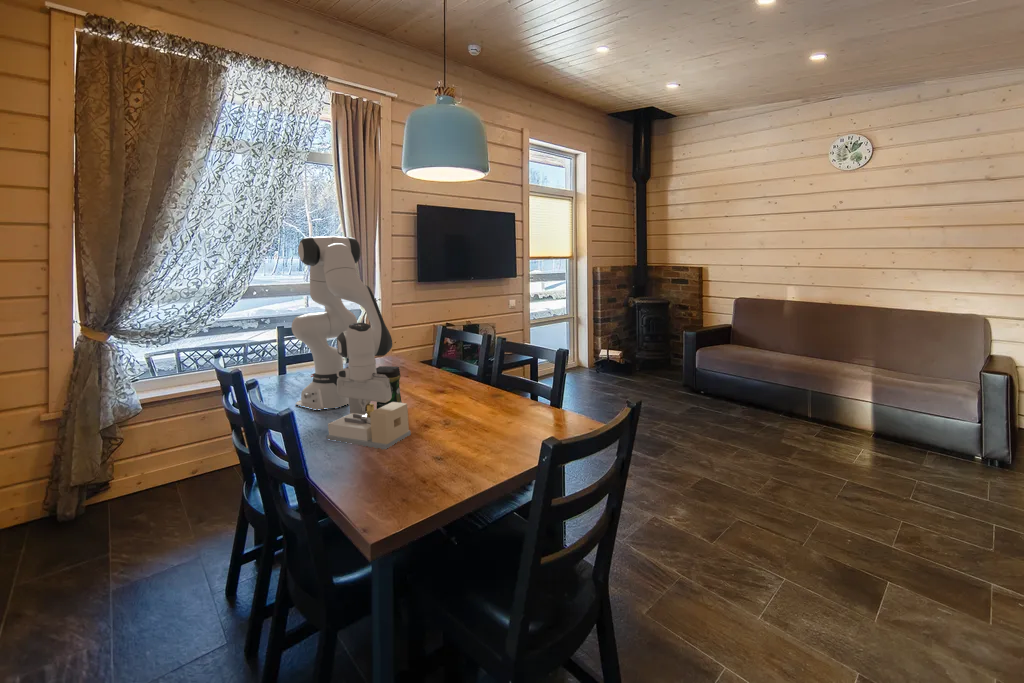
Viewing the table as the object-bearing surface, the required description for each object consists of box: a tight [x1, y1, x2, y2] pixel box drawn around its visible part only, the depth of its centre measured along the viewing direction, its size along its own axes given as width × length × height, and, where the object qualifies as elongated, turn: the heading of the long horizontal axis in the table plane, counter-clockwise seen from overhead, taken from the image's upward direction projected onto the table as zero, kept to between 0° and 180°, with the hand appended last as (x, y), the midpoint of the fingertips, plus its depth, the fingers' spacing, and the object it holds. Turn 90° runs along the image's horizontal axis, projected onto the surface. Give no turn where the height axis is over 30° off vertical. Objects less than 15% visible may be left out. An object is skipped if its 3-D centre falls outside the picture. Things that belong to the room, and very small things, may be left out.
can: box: [348, 398, 367, 415], centre depth 187 cm, size 8×8×12 cm
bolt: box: [361, 403, 375, 423], centre depth 164 cm, size 10×3×6 cm, turn 68°
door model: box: [326, 402, 412, 450], centre depth 166 cm, size 24×14×12 cm, turn 68°
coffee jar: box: [376, 365, 403, 409], centre depth 192 cm, size 10×8×19 cm
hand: (365, 411), depth 166 cm, fingers closed, pressing on bolt
